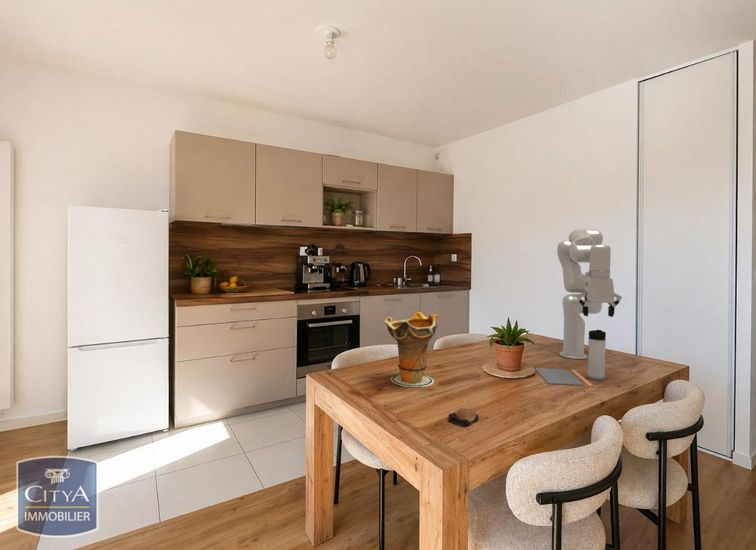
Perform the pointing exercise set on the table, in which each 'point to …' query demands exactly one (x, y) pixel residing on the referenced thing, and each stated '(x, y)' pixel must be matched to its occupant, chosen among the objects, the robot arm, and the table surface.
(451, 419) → the brown black rock
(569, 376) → the mat
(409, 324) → the decorative vase
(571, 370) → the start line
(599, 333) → the travel mug
